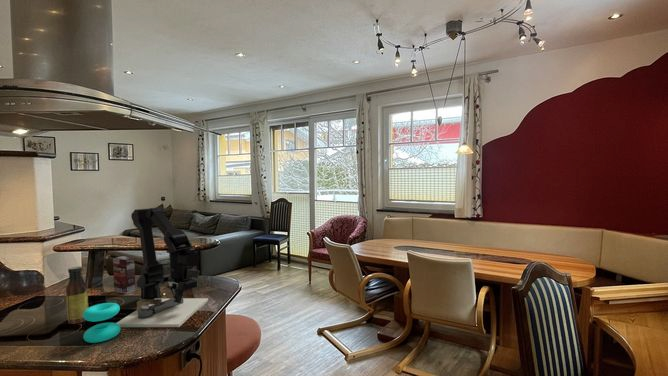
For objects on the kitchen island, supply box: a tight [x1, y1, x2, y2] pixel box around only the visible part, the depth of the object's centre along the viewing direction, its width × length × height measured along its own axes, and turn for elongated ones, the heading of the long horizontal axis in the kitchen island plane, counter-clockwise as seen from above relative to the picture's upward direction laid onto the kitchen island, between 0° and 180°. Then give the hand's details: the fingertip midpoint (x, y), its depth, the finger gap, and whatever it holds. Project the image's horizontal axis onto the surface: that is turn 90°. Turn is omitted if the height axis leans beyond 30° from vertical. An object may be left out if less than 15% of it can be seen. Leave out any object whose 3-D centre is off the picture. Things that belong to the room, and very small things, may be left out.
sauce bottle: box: [65, 266, 89, 325], centre depth 120 cm, size 7×6×20 cm
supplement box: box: [112, 256, 136, 295], centre depth 152 cm, size 9×5×16 cm, turn 69°
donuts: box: [83, 302, 122, 344], centre depth 108 cm, size 10×10×10 cm
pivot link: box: [138, 296, 184, 319], centre depth 127 cm, size 18×5×4 cm, turn 152°
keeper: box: [136, 298, 163, 312], centre depth 127 cm, size 8×3×4 cm, turn 89°
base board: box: [116, 297, 209, 328], centre depth 127 cm, size 23×25×1 cm
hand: (178, 303), depth 132 cm, fingers closed
